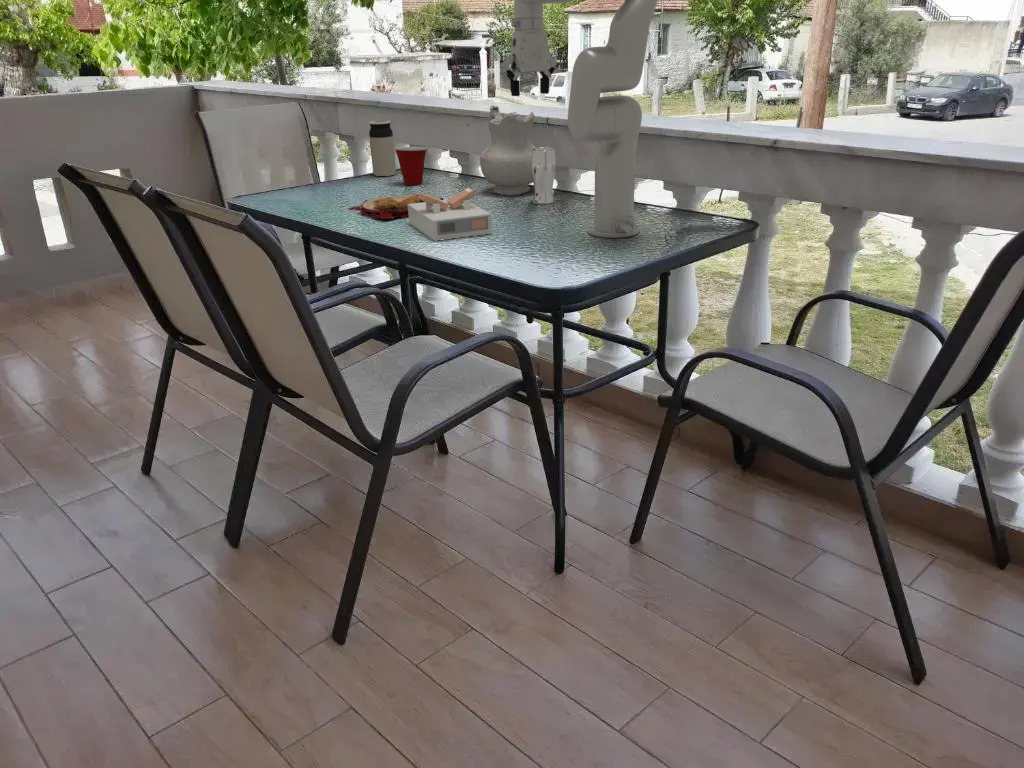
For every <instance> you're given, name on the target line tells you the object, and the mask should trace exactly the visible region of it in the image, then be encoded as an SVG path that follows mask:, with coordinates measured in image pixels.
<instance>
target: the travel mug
mask: <svg viewBox="0 0 1024 768" xmlns="http://www.w3.org/2000/svg"><path fill="white" fill-rule="evenodd" d="M391 123H392V121H391V120H372V121H369V122H368V124H369V127H370V129H369V132H368V134H369V143H370V144H369V145H370V155H371V165H372V174H374V175H376V176H375V177H377V176H388V177H392V176H391V175H393V176H395V175H396V174H397V169H396V168H397V167H396V158H395V149H394V148H395V146H394V134H393V130H392V127H391ZM374 175H373V176H374Z"/></svg>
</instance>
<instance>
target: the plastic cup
mask: <svg viewBox="0 0 1024 768" xmlns="http://www.w3.org/2000/svg"><path fill="white" fill-rule="evenodd" d="M427 150H428V147H425V146H396V147H395V146H394V151H395V152H396V156H397V159H398V164H399V168H400V172H401V175H402V180H403V183H404V186H411V187H413V186H421V185H422V184H423V179H424V173H425V172H424V170H425V169H424V168H425V161H426V160H425V158H426V154H427Z"/></svg>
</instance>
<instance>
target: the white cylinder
mask: <svg viewBox="0 0 1024 768" xmlns="http://www.w3.org/2000/svg"><path fill="white" fill-rule="evenodd" d="M531 172H532V178H533V183H532V184H533V188H534V191H533V192H534V193H533V200H532V203H533V204H535V205H550V204H554V203H555V199H554V192H553V190H554V188H553V187H554V186H553V185H554V179H555V174H556V152H555V148H554V147H547V146H544V147H543V146H542V147H541V146H540V147H536V148H533V149H531Z"/></svg>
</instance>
